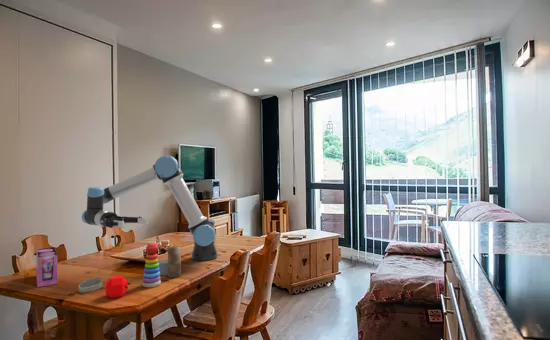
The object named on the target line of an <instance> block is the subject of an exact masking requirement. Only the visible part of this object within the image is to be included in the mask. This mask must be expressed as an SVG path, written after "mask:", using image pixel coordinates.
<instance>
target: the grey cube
mask: <svg viewBox="0 0 550 340" xmlns="http://www.w3.org/2000/svg"><path fill="white" fill-rule="evenodd" d="M158 263H159V266H158V267H159V271H160V275H159V276H160V277H161V276H168V259H164V260H163V259H162V260H158Z"/></svg>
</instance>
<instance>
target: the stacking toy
mask: <svg viewBox="0 0 550 340" xmlns="http://www.w3.org/2000/svg"><path fill="white" fill-rule="evenodd" d="M158 250H159V245H158V244H156V243H154V242H151V243H148V244H147V245H146V248H145V251H146V253H147V254H146V255H145V258H146V259H145V261H144V262H145V264H144V269H143V270H144V272H143V277H142V283H141V285H142V287H143V288H156V287H159V286H160V285H161V284H162V281H161V275H160V271H159V267H158V266H159V263H158V261H159V259H158V257H159V254H158ZM159 275H160V276H159Z"/></svg>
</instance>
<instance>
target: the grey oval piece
mask: <svg viewBox="0 0 550 340" xmlns="http://www.w3.org/2000/svg"><path fill="white" fill-rule="evenodd" d="M102 287H103V280H102V279H101V278H96V277H95V278H94V277H89V278H86V279H85V280H83V281H82V282H80V283H79V284H78V292H79V293H81V294H83V293H90V292H95V291H97V290H99V289H101V288H102Z"/></svg>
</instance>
